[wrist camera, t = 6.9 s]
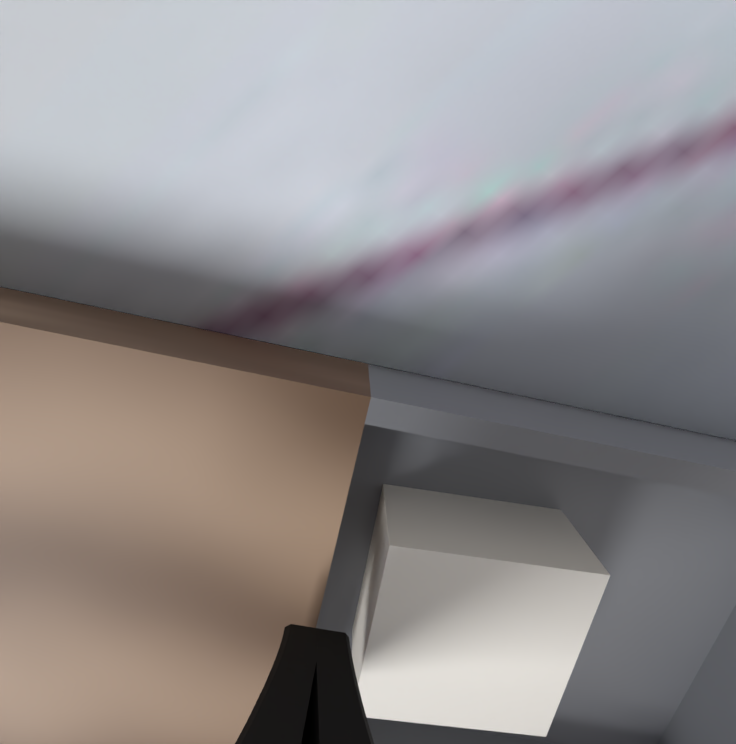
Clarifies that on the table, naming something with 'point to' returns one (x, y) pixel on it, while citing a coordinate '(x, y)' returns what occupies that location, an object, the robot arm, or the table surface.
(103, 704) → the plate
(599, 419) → the box
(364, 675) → the white square block
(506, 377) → the table surface
